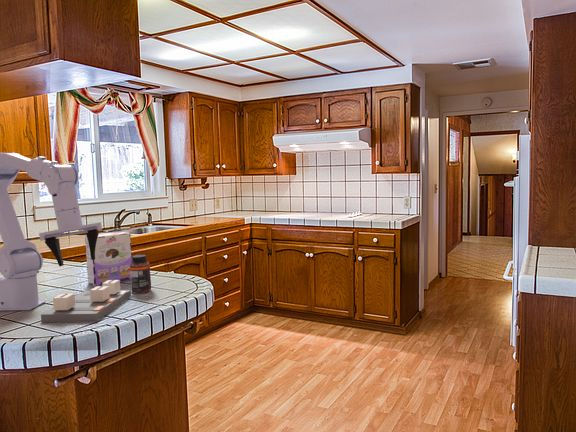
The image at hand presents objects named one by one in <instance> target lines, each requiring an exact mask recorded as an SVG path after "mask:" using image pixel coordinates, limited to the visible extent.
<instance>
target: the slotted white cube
mask: <svg viewBox="0 0 576 432" xmlns="http://www.w3.org/2000/svg"><path fill="white" fill-rule="evenodd" d="M75 296H76V295H75V293H60V294H58V295H56V296H55V297H52V303H53V304H52V307H53V308H54V310H69V309H70V308H72V307H74V306H75Z"/></svg>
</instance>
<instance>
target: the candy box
mask: <svg viewBox="0 0 576 432" xmlns="http://www.w3.org/2000/svg"><path fill="white" fill-rule="evenodd" d="M131 240H132V236H131V232H128V231H127V232H126V231H119V232H109V233H103V234H98V238H97V242H96V248H95V259H94V260H91V255H90V247H89V243H88V239H87V235H86V236H84V241H85V242H84V243H85V245H84V246H85V257H86V271H87V283H88V284H89V285H91V286H94V287H97V286H101V285H102V283H104V282H106V281H107V280H120V282H121V281H122V282H123V281H125V280H131V277H130V264H131V263H132V262H133V258H132V257H133V255H132V251H133V250H132V241H131Z"/></svg>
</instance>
